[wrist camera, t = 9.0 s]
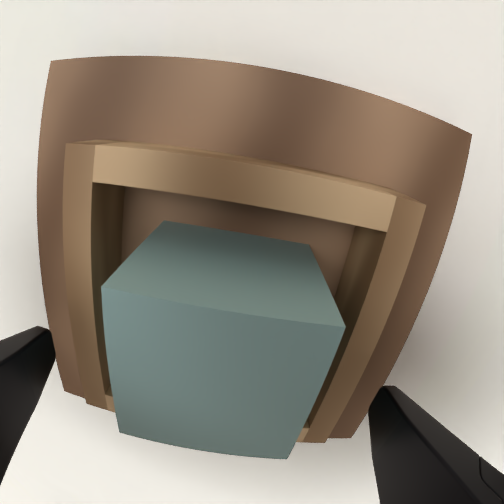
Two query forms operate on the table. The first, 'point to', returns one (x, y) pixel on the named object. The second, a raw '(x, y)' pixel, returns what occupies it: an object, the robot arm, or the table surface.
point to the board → (242, 199)
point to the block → (218, 340)
